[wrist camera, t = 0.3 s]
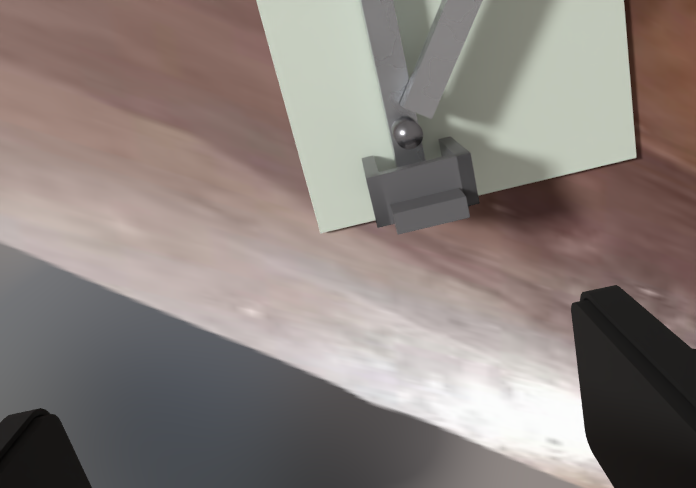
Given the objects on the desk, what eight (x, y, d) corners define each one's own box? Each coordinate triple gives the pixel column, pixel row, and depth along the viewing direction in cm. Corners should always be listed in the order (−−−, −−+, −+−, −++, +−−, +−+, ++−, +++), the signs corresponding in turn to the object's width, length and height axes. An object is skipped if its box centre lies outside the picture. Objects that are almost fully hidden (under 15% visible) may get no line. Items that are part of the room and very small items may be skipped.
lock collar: (361, 158, 38) (367, 186, 31) (450, 136, 38) (478, 159, 30) (371, 200, 39) (379, 238, 32) (458, 179, 39) (488, 213, 31)
